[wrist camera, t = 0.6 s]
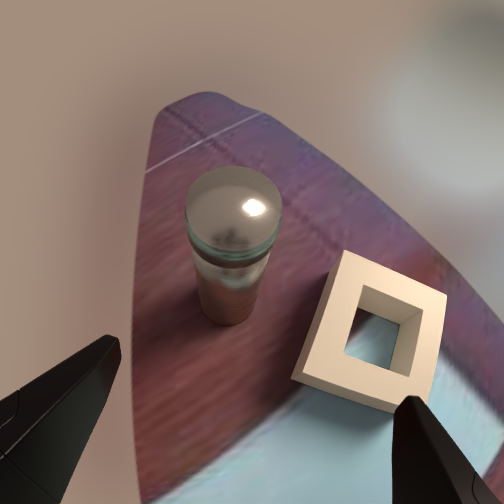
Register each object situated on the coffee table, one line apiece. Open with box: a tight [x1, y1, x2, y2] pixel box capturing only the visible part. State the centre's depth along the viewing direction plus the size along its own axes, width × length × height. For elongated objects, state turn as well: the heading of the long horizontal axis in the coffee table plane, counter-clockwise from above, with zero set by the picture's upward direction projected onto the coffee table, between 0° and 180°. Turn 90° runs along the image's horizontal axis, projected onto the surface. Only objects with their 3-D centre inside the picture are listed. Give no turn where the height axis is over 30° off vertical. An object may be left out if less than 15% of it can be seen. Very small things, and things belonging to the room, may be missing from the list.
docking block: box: [290, 250, 447, 414], centre depth 24 cm, size 10×10×4 cm
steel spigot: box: [185, 166, 282, 326], centre depth 20 cm, size 5×5×13 cm
